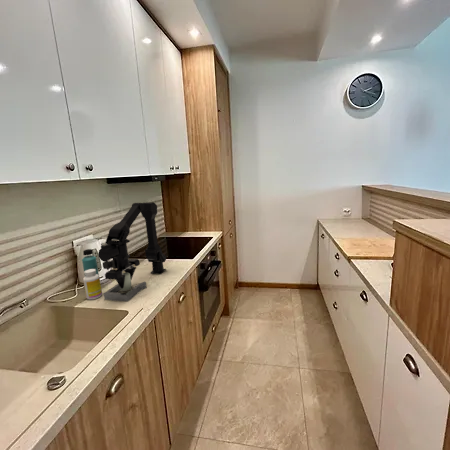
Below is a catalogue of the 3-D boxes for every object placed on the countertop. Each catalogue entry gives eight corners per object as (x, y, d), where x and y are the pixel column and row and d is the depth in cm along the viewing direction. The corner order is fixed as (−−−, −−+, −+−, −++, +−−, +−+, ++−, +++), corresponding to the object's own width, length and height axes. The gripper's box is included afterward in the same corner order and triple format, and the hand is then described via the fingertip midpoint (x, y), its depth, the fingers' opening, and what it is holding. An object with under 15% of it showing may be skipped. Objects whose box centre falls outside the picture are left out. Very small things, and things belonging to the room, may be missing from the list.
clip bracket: (121, 285, 131) (121, 280, 130) (146, 287, 127) (146, 281, 127) (102, 299, 117) (101, 293, 117) (129, 301, 114) (129, 295, 113)
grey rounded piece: (124, 285, 126) (122, 272, 124) (134, 286, 125) (132, 272, 123) (117, 290, 121) (115, 276, 119) (127, 291, 120) (125, 277, 118)
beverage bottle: (85, 292, 126) (78, 252, 122) (88, 286, 132) (81, 248, 128) (99, 289, 127) (93, 250, 123) (102, 284, 134) (96, 247, 130)
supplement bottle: (105, 295, 122) (101, 269, 119) (92, 301, 116) (87, 274, 113) (96, 292, 125) (92, 267, 122) (83, 298, 119) (78, 272, 117)
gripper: (118, 247, 130) (122, 276, 133) (91, 260, 112) (97, 293, 116) (138, 248, 127) (142, 277, 131) (114, 261, 110) (119, 295, 113)
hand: (125, 285), depth 122 cm, fingers closed on grey rounded piece, 5 cm apart
